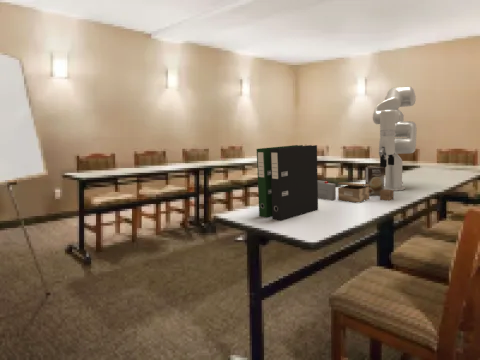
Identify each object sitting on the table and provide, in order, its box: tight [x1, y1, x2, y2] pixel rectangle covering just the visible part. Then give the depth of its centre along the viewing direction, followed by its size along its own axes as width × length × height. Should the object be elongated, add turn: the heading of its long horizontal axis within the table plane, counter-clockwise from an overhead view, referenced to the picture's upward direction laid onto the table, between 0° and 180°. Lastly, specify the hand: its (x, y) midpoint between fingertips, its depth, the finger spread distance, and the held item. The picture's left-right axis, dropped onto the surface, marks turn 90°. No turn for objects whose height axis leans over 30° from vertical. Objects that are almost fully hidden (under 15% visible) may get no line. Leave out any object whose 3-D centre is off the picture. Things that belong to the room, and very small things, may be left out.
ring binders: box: [256, 144, 319, 222], centre depth 170 cm, size 27×15×32 cm, turn 129°
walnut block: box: [379, 189, 395, 202], centre depth 192 cm, size 5×5×5 cm
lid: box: [337, 182, 370, 186], centre depth 194 cm, size 12×12×1 cm
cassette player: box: [318, 180, 337, 201], centre depth 203 cm, size 16×3×10 cm, turn 33°
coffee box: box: [364, 166, 385, 197], centre depth 205 cm, size 9×6×16 cm
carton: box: [337, 185, 370, 203], centre depth 195 cm, size 12×12×7 cm
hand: (387, 165), depth 190 cm, fingers open, 9 cm apart
